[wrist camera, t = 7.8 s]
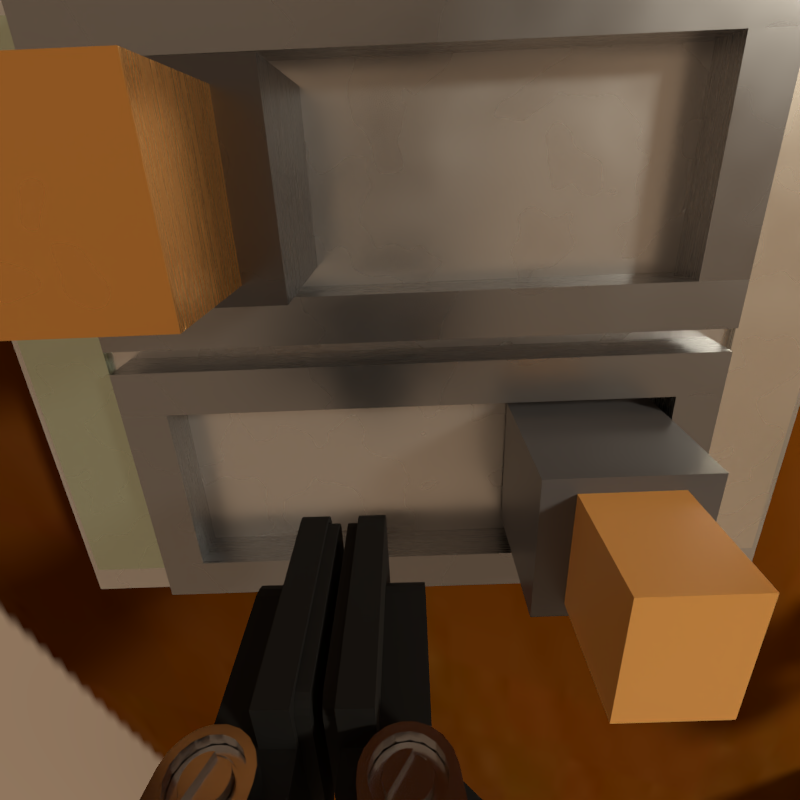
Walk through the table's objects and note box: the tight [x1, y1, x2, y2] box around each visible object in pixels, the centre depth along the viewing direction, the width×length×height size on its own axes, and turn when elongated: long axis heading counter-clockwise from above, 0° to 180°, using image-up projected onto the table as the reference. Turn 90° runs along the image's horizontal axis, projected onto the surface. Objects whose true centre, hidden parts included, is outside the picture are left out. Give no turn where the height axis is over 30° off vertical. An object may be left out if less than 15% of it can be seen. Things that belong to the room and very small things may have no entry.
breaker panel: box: [0, 0, 800, 595], centre depth 12 cm, size 22×17×8 cm
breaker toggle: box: [501, 398, 779, 724], centre depth 13 cm, size 4×4×7 cm
